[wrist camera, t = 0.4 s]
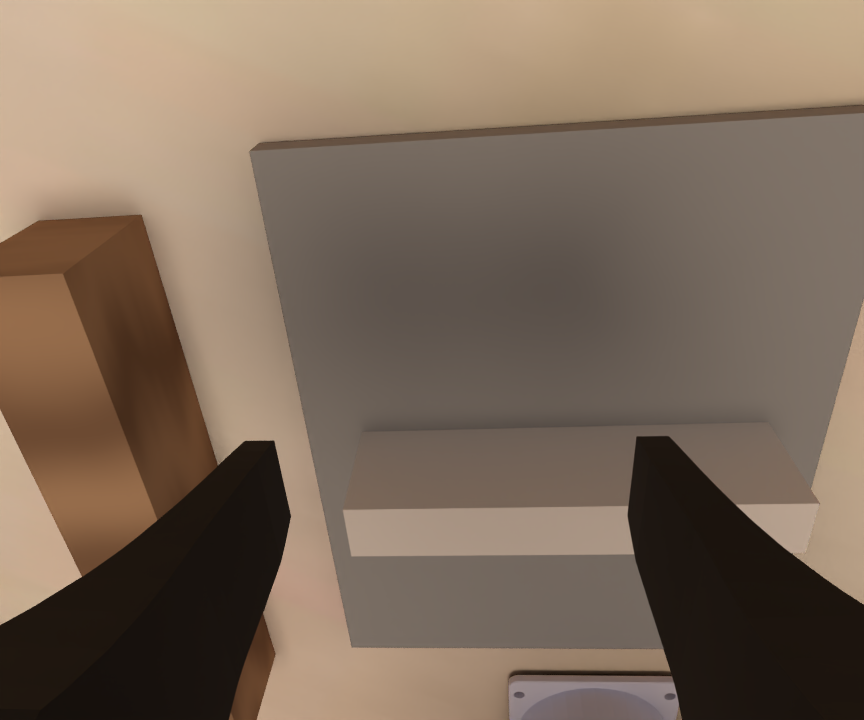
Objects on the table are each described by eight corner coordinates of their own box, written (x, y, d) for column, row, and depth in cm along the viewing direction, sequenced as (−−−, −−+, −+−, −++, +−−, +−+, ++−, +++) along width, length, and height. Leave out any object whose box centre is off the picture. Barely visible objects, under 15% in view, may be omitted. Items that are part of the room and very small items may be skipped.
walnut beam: (276, 649, 33) (246, 752, 28) (207, 649, 33) (167, 751, 29) (145, 212, 22) (62, 273, 17) (42, 218, 22) (-64, 279, 18)
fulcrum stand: (757, 629, 29) (805, 742, 25) (355, 628, 31) (335, 734, 27) (895, 103, 18) (1022, 145, 14) (259, 143, 20) (199, 191, 16)
